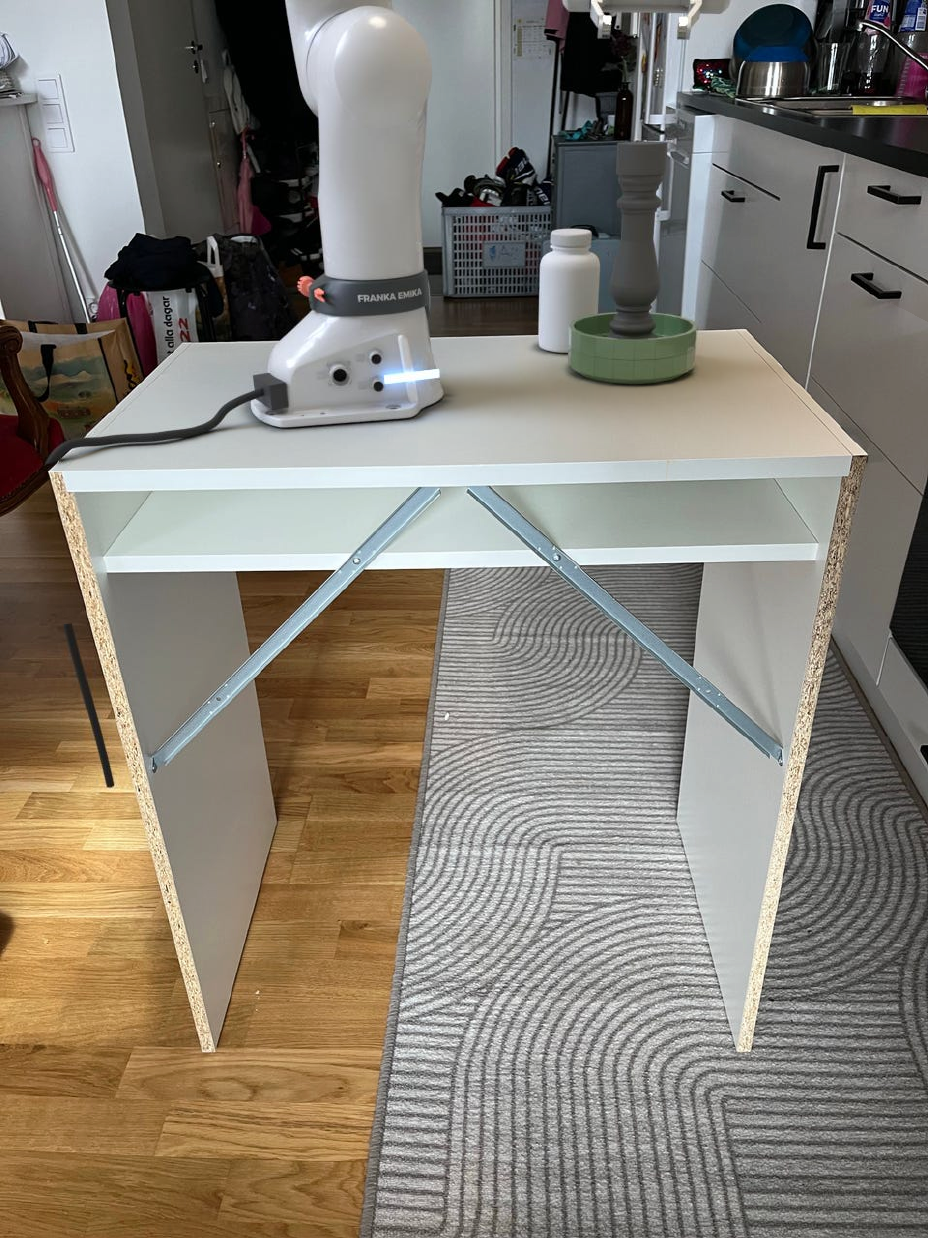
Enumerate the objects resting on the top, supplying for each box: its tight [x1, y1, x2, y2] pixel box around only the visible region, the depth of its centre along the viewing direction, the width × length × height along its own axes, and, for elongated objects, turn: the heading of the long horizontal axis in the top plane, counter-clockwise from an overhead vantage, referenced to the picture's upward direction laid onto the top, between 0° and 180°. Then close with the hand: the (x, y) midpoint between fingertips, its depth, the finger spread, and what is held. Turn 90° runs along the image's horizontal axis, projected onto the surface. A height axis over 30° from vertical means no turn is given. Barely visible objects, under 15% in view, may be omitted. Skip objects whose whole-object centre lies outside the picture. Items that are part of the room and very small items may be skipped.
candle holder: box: [607, 140, 669, 339], centre depth 117 cm, size 6×6×25 cm
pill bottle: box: [538, 228, 601, 354], centre depth 131 cm, size 8×8×15 cm
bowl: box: [567, 311, 699, 385], centre depth 122 cm, size 16×16×6 cm
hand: (643, 34), depth 116 cm, fingers open, 8 cm apart
